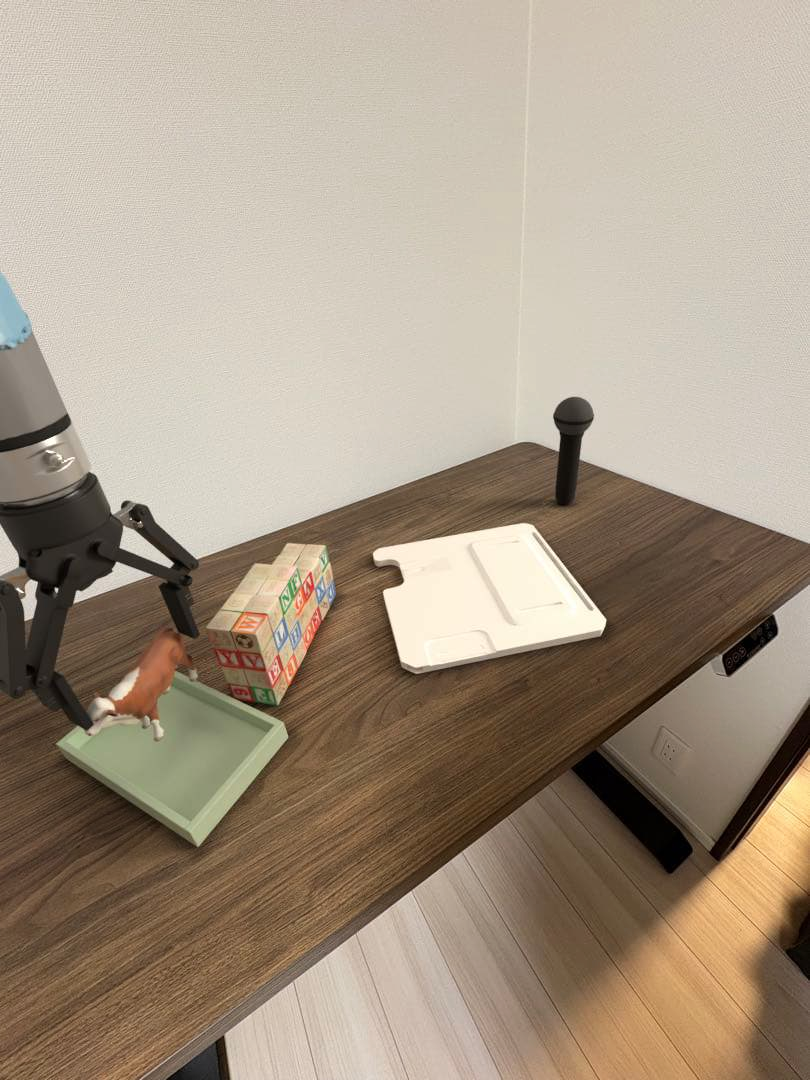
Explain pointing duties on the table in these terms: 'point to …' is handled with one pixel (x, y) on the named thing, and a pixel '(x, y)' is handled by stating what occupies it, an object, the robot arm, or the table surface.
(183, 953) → the table surface
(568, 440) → the microphone
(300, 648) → the stack of blocks
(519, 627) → the tray
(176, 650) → the bull figurine
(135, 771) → the tray
